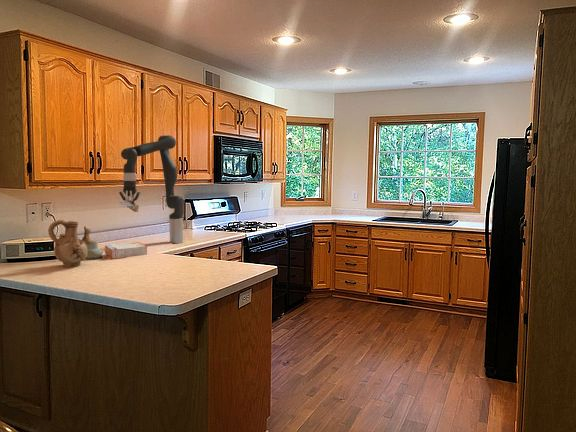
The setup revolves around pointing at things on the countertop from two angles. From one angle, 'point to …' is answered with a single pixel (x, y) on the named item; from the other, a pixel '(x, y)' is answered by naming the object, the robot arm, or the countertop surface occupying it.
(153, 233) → the countertop surface
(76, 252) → the ceramic vessel
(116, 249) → the cracker box
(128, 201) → the turner
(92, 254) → the air freshener
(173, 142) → the robot arm
